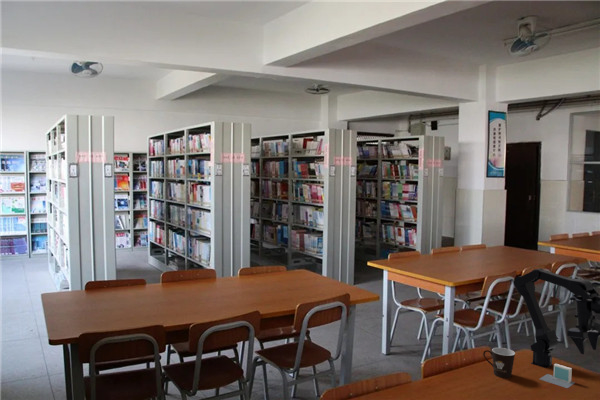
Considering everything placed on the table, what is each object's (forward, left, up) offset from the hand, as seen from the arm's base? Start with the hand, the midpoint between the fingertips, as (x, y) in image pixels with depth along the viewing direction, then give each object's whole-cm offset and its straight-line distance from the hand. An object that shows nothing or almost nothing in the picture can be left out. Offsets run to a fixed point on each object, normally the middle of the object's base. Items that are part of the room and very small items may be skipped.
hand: (588, 351), depth 188 cm
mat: (-8, -10, -12) cm, 17 cm away
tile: (-7, -8, -12) cm, 15 cm away
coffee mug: (-26, -21, -12) cm, 35 cm away
